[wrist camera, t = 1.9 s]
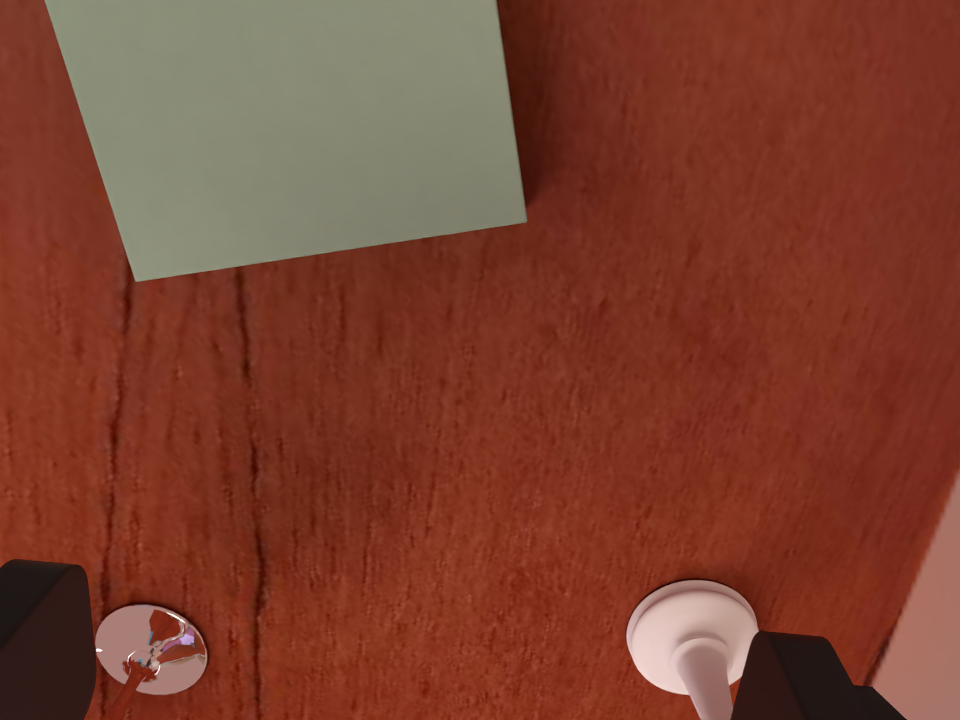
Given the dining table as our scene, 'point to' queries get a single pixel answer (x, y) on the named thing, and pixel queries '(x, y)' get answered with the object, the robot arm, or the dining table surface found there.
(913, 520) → the dining table surface
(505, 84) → the orange button base
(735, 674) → the chess piece
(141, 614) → the wineglass
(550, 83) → the dining table surface
